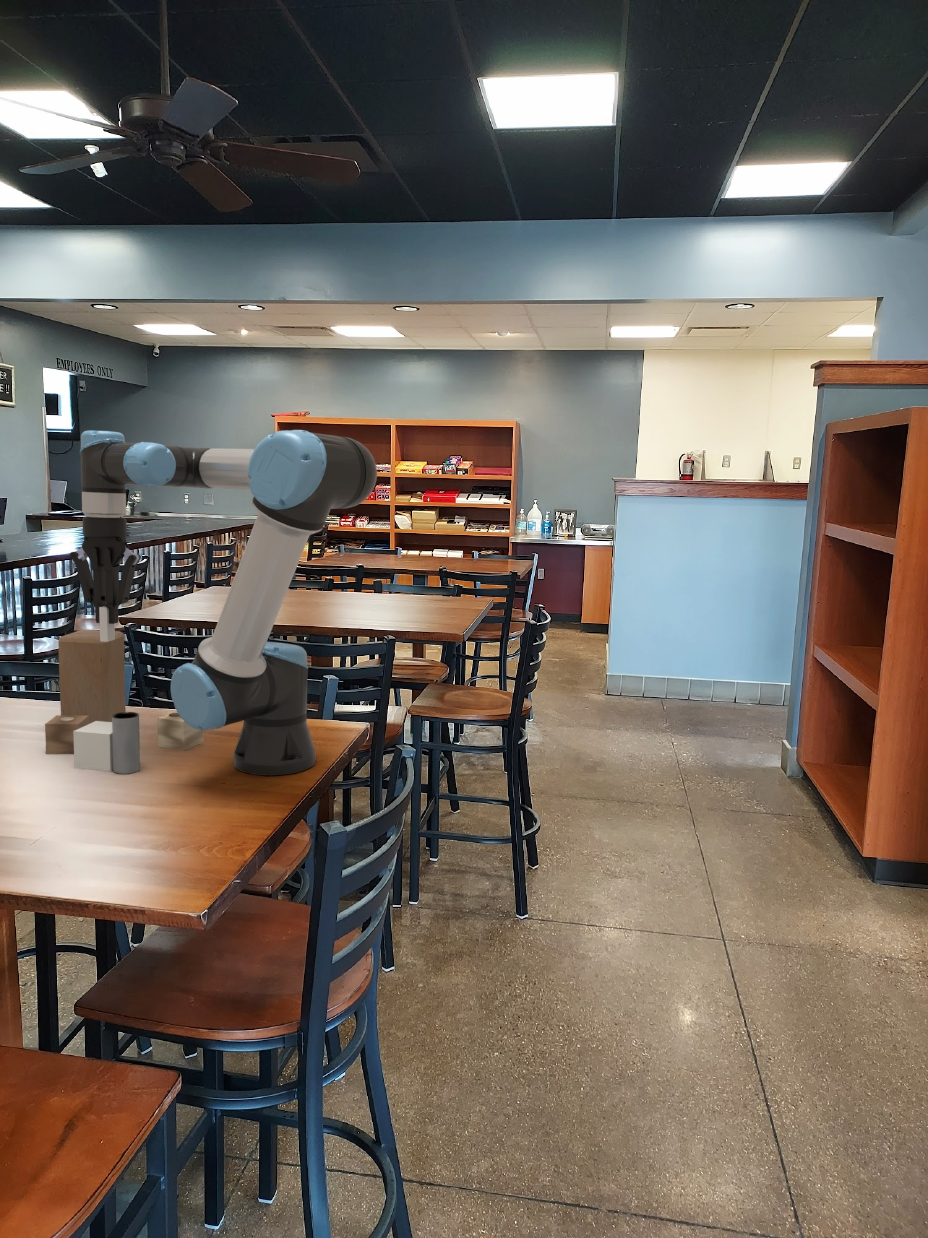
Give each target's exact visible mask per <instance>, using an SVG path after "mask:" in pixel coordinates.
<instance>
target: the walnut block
mask: <svg viewBox="0 0 928 1238" xmlns="http://www.w3.org/2000/svg"><path fill="white" fill-rule="evenodd" d="M88 724H89V716H74V715H61V714H60V715H59V714H58V715H55V716H54V717H52V718H51V719H50V720H48V721H47V722H45V723H44V730H45V731H44V732H45V733H44V735H45V737H44V738H45V755H74V734H73V731H75V730H77V729H79V728H82V727H84V726H86V725H88Z"/></svg>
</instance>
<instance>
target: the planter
mask: <svg viewBox="0 0 928 1238" xmlns="http://www.w3.org/2000/svg"><path fill="white" fill-rule="evenodd" d="M140 733H141V732H140V714H139V712H135V711H126V712H121V713H116V714H114V715H112V742H113V770H112V772H113V773H115V774H118V775H127V774H134V773H137V772H138V771H139V770H140V769H141V742H140V740H141V739H140V737H141V736H140Z"/></svg>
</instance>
